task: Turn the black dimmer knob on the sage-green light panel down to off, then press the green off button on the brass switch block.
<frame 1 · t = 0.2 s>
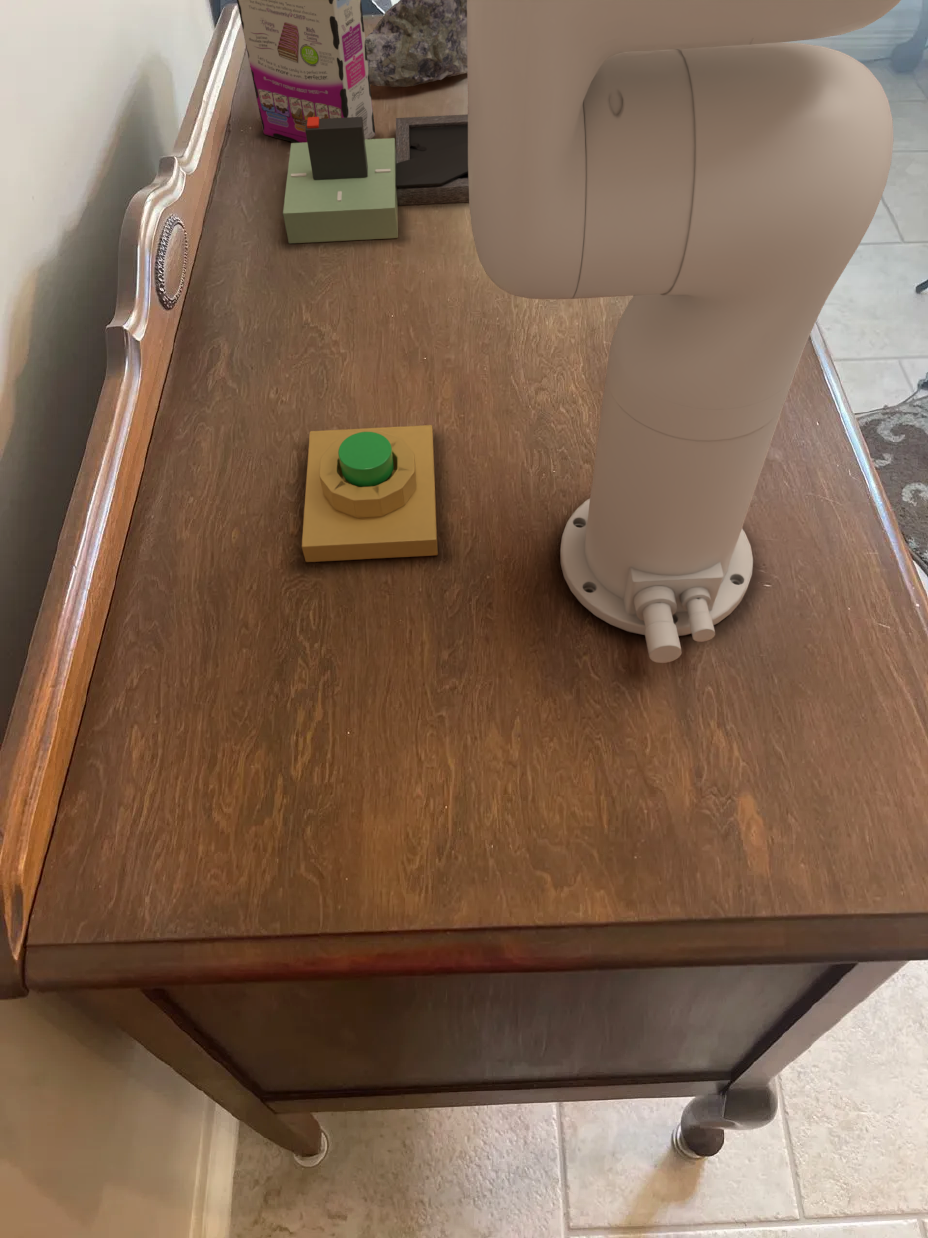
candy bar box: (319, 137, 95), on the table
off button: (366, 459, 62), point 4 cm above the table, slide at 0.1 cm
mineral rock: (423, 76, 102), on the table
dimmer knob: (337, 147, 83), point 5 cm above the table, hinge at 90.0°
dimmer panel: (345, 204, 87), on the table
picture frame: (488, 165, 91), on the table
switch block: (372, 499, 66), on the table
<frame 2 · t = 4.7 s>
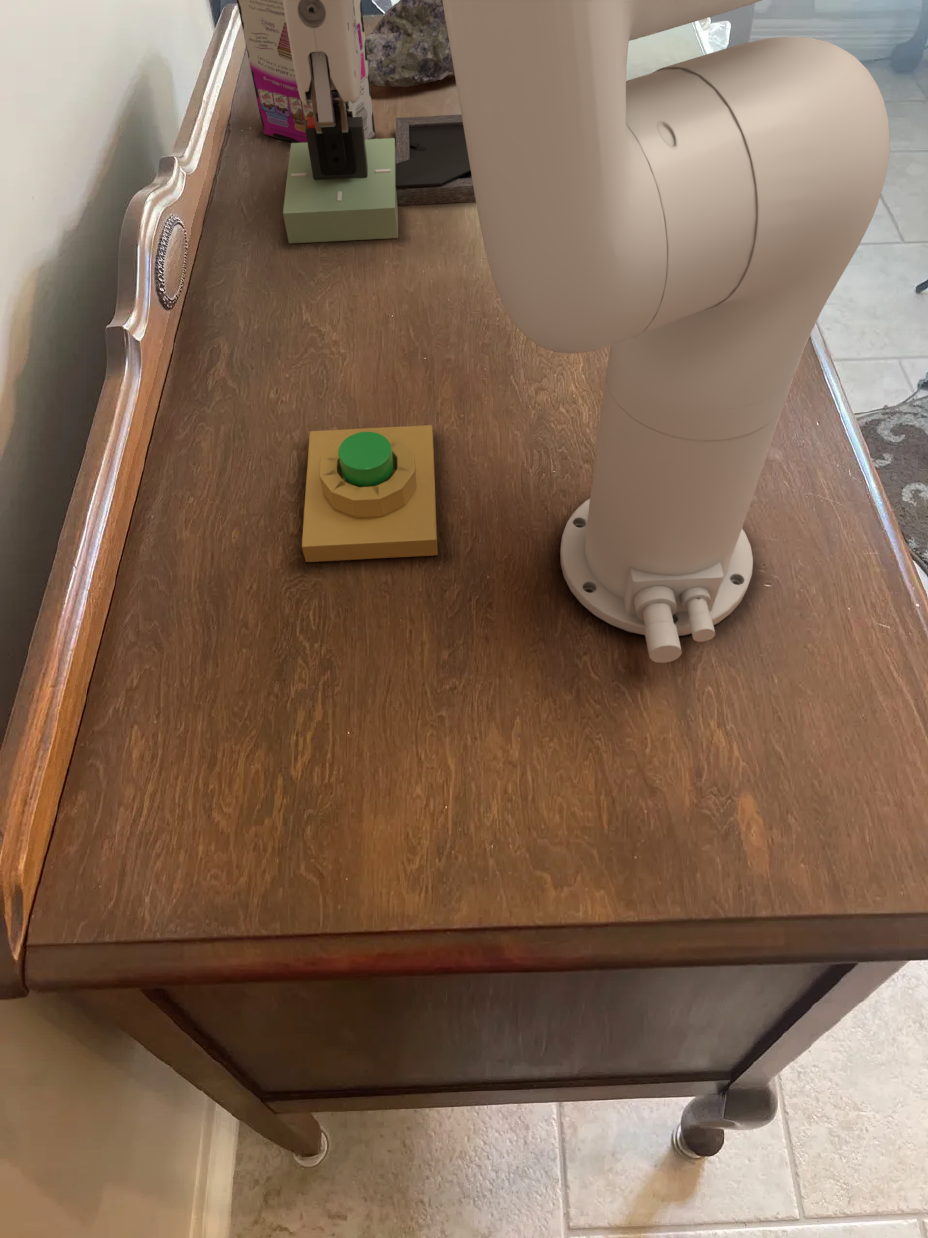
hand: (339, 163, 84), 4 cm above the table, tool pointing down, fingers closed on dimmer knob, 2 cm apart
dimmer knob: (337, 147, 83), point 5 cm above the table, hinge at 90.0°, touching gripper
everything else where it was.
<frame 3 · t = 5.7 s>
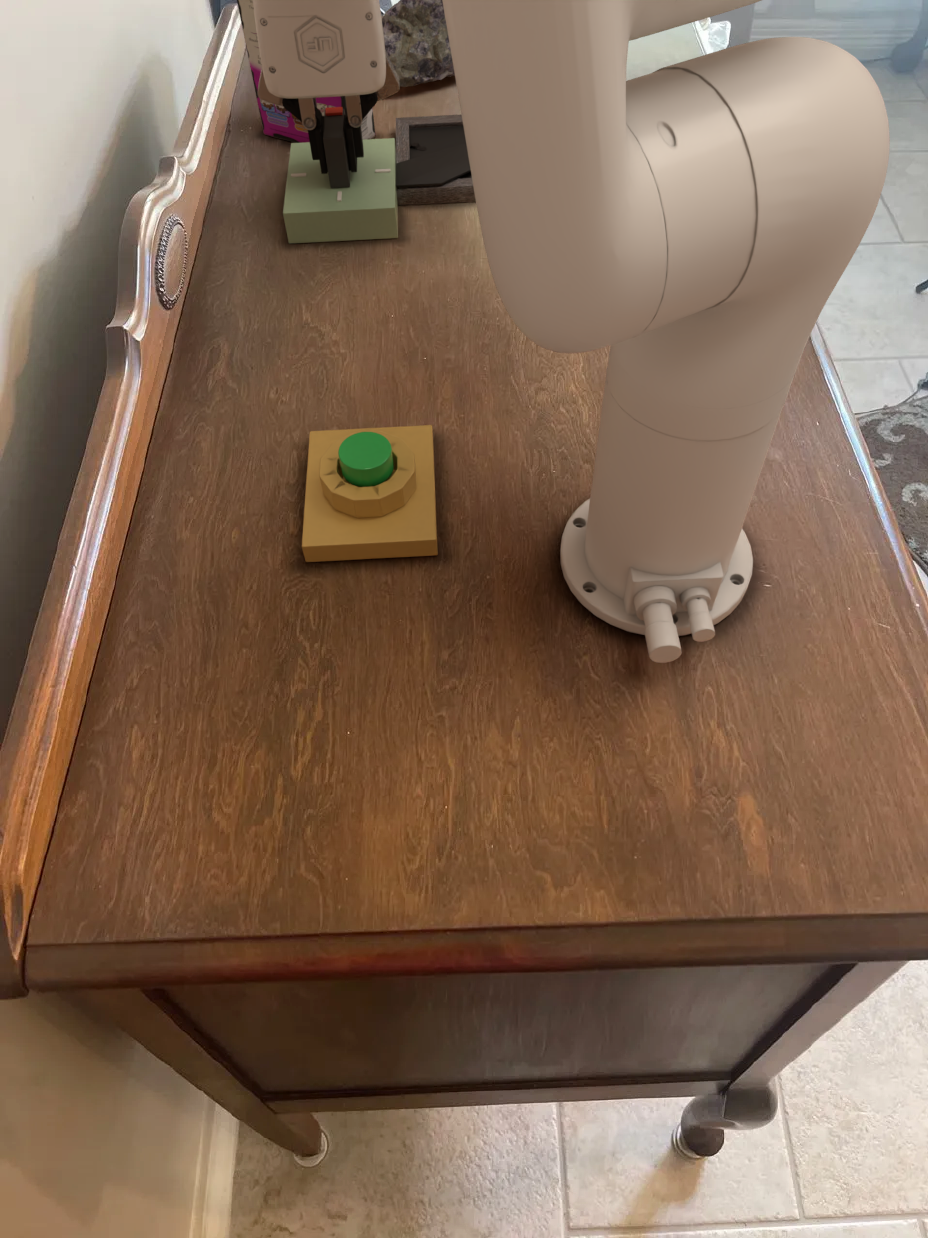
hand: (339, 163, 84), 4 cm above the table, tool pointing down, fingers closed on dimmer knob, 2 cm apart
dimmer knob: (337, 147, 83), point 5 cm above the table, hinge at 0.7°, touching gripper
everything else where it was.
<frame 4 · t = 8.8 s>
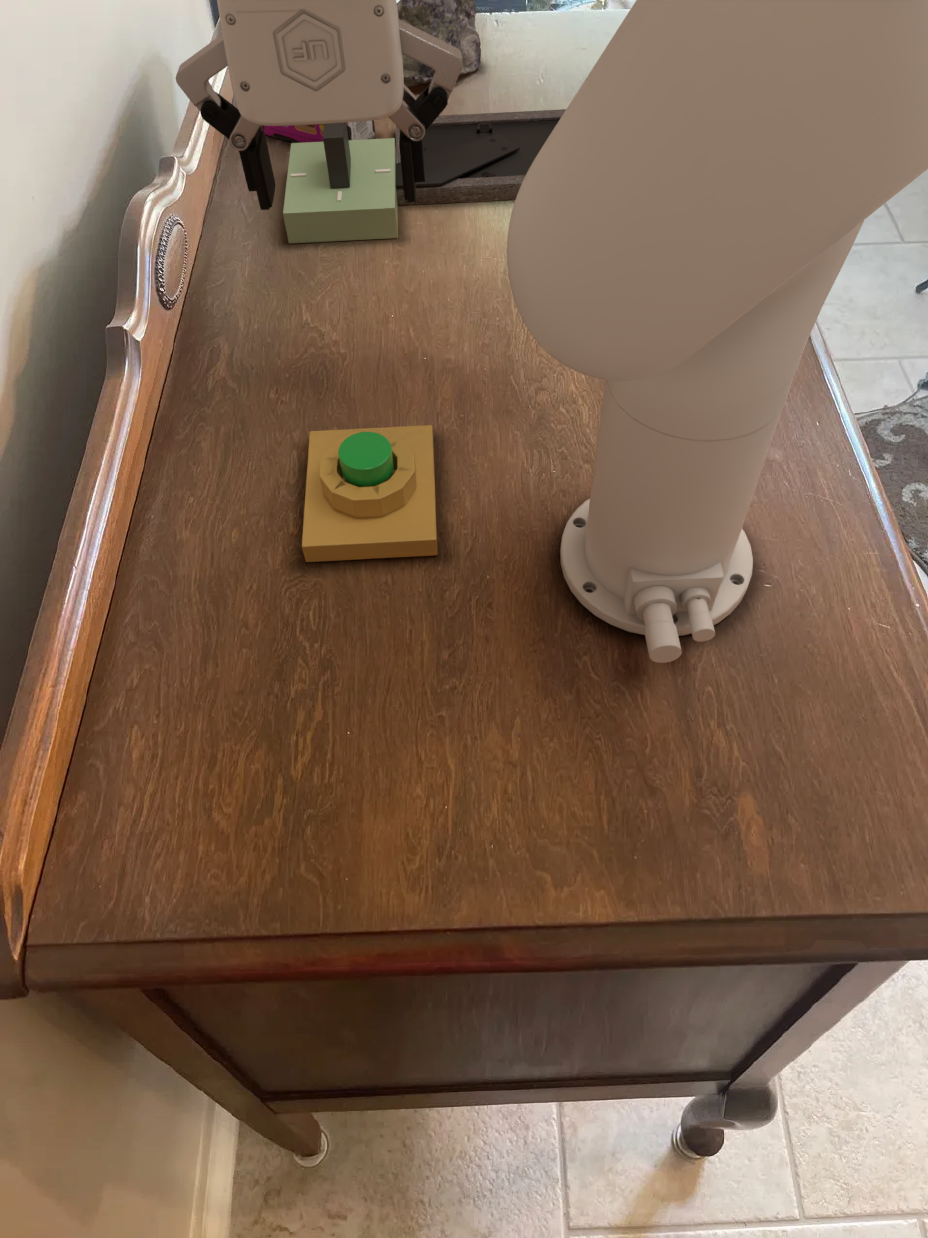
hand: (339, 195, 62), 15 cm above the table, tool pointing down, fingers open, 9 cm apart
dimmer knob: (337, 147, 83), point 5 cm above the table, hinge at 0.6°
everything else where it was.
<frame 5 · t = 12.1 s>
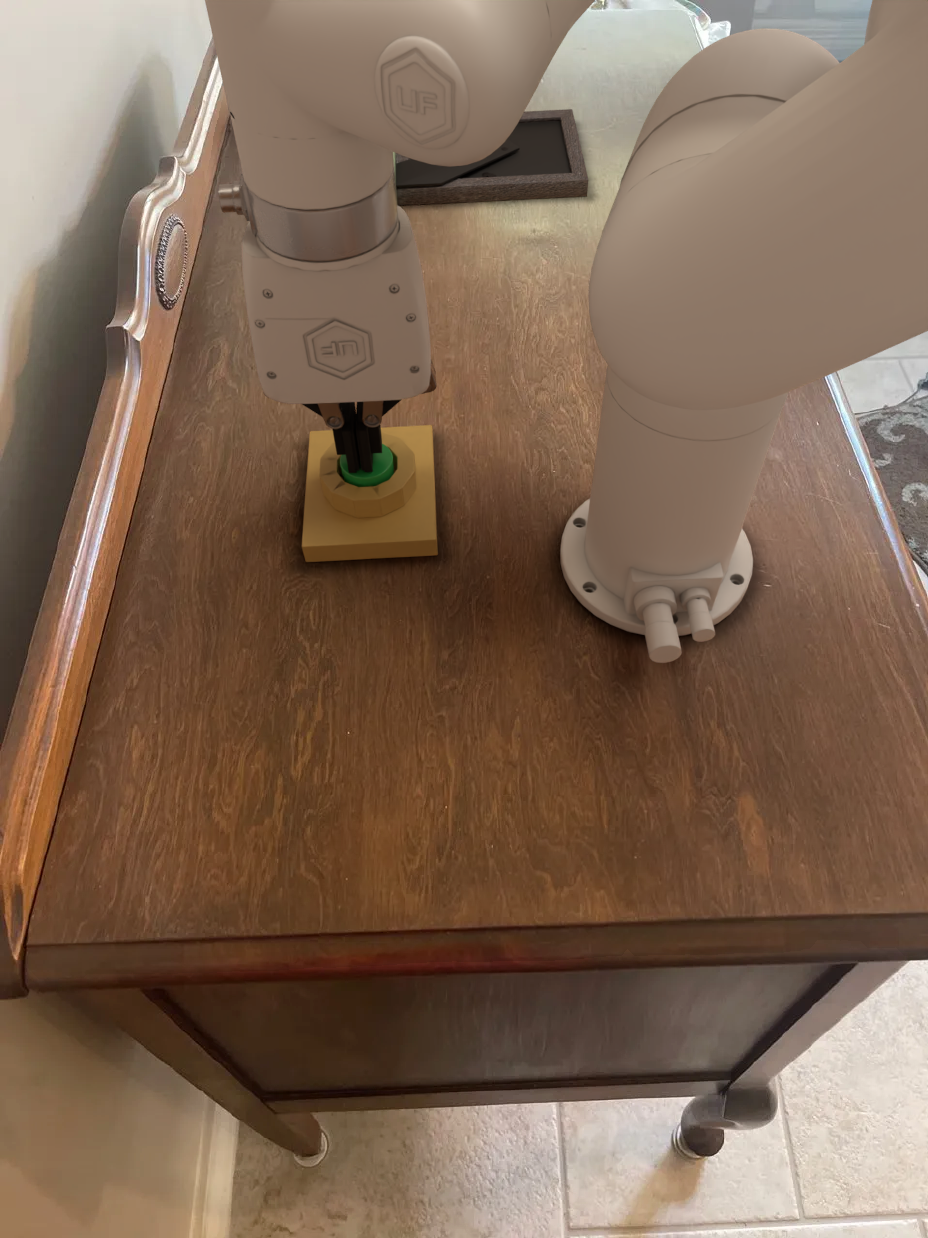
hand: (361, 457, 62), 4 cm above the table, tool pointing down, fingers closed
off button: (367, 467, 63), point 3 cm above the table, slide at -0.7 cm, touching gripper
everything else where it was.
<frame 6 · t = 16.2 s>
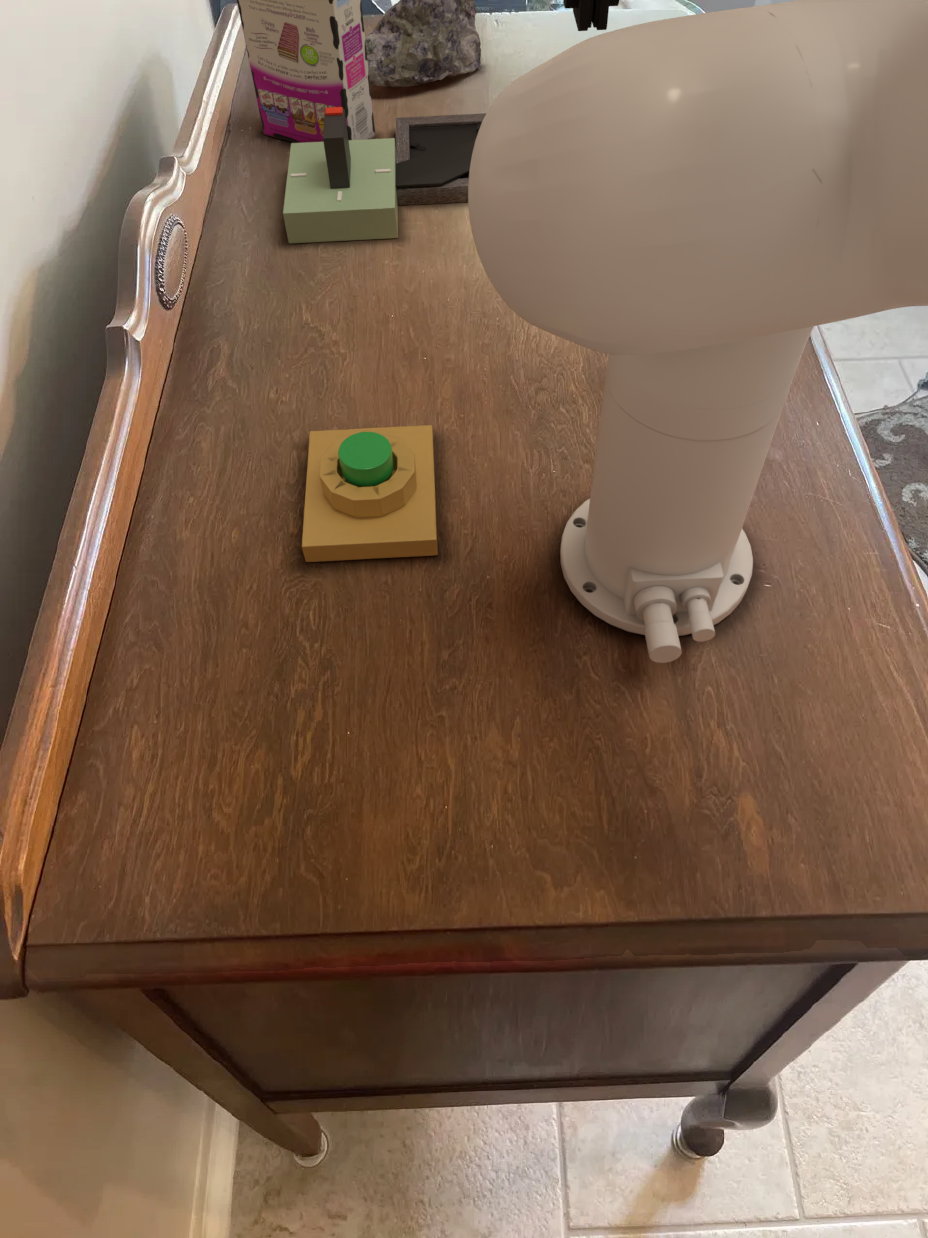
hand: (589, 19, 53), 25 cm above the table, tool pointing down, fingers closed
off button: (366, 459, 62), point 4 cm above the table, slide at 0.1 cm
everything else where it was.
at the end: dimmer knob at +1° (first picture: +90°); off button pushed in 1.0 cm at the most during the clip, back to where it started at the end; off button slide at 0.1 cm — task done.
